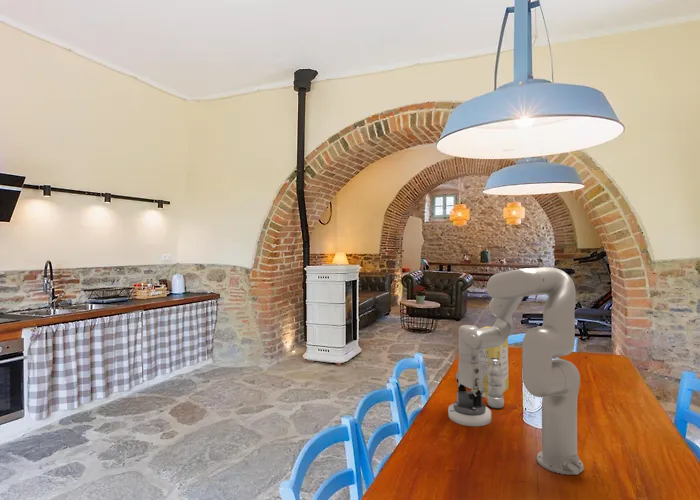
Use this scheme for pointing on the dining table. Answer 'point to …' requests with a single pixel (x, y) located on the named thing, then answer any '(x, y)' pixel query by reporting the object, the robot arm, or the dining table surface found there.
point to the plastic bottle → (495, 384)
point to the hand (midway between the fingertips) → (469, 401)
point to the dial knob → (468, 404)
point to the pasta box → (484, 362)
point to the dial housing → (469, 417)
